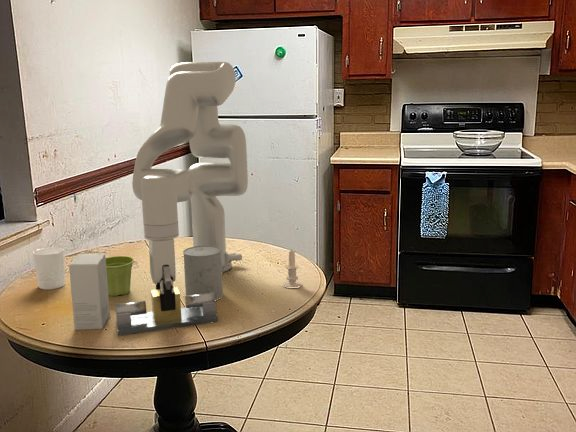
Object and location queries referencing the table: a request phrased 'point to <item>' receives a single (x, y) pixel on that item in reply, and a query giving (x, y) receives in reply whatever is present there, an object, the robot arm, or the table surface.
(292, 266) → the candle
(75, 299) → the skincare box
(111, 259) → the plant pot
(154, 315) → the coupler
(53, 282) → the white cup
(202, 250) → the grey can
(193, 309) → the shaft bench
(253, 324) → the table surface
